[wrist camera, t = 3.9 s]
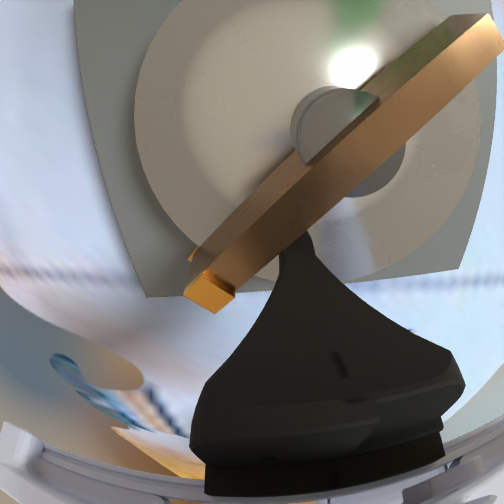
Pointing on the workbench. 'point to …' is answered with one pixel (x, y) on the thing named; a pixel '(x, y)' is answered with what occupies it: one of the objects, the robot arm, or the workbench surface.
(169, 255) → the stand plate
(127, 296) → the workbench surface
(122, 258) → the workbench surface
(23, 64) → the workbench surface
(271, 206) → the dial
